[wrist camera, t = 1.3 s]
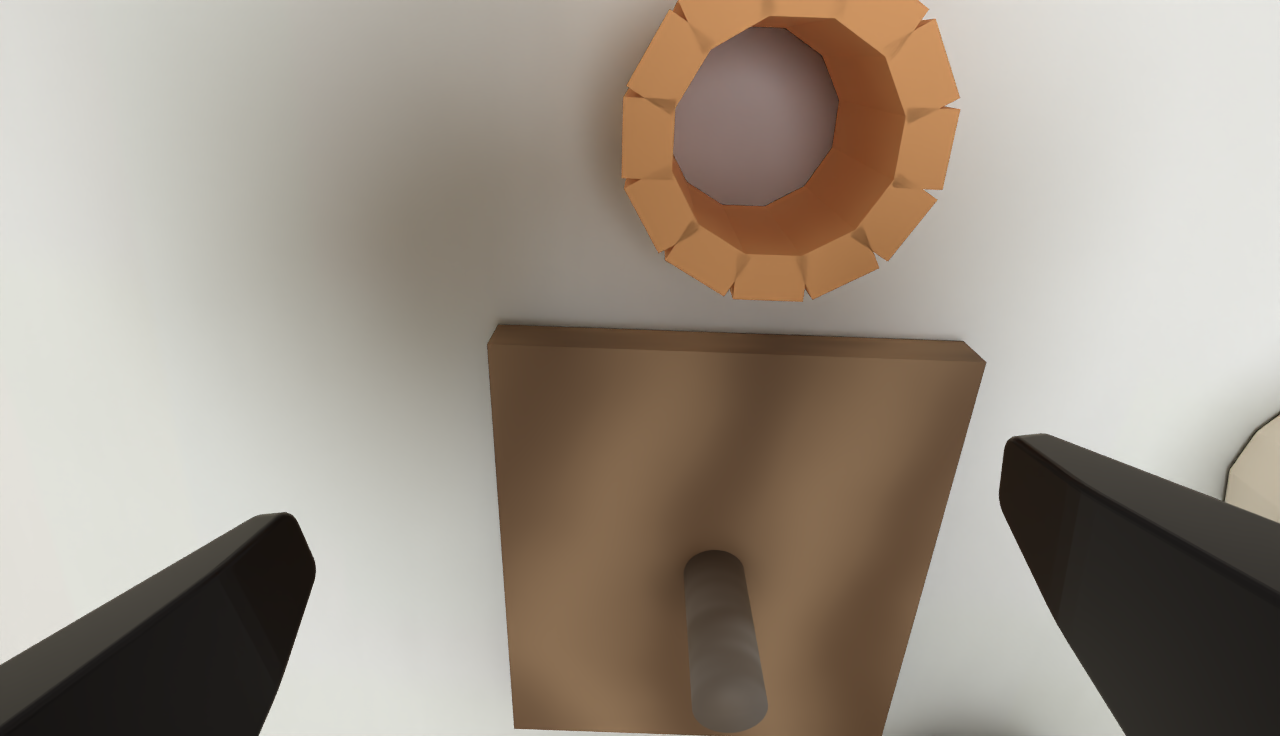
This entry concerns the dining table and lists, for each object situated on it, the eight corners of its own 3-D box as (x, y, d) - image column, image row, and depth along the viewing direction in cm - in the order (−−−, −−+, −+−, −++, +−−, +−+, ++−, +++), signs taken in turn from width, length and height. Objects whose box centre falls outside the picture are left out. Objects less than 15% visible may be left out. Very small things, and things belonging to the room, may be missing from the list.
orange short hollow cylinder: (897, -15, 16) (993, -42, 12) (853, 245, 19) (916, 306, 14) (633, -25, 16) (626, -55, 12) (626, 237, 19) (619, 294, 14)
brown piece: (963, 341, 20) (1093, 460, 14) (868, 707, 27) (929, 889, 21) (498, 324, 20) (434, 437, 14) (521, 694, 27) (484, 874, 21)
